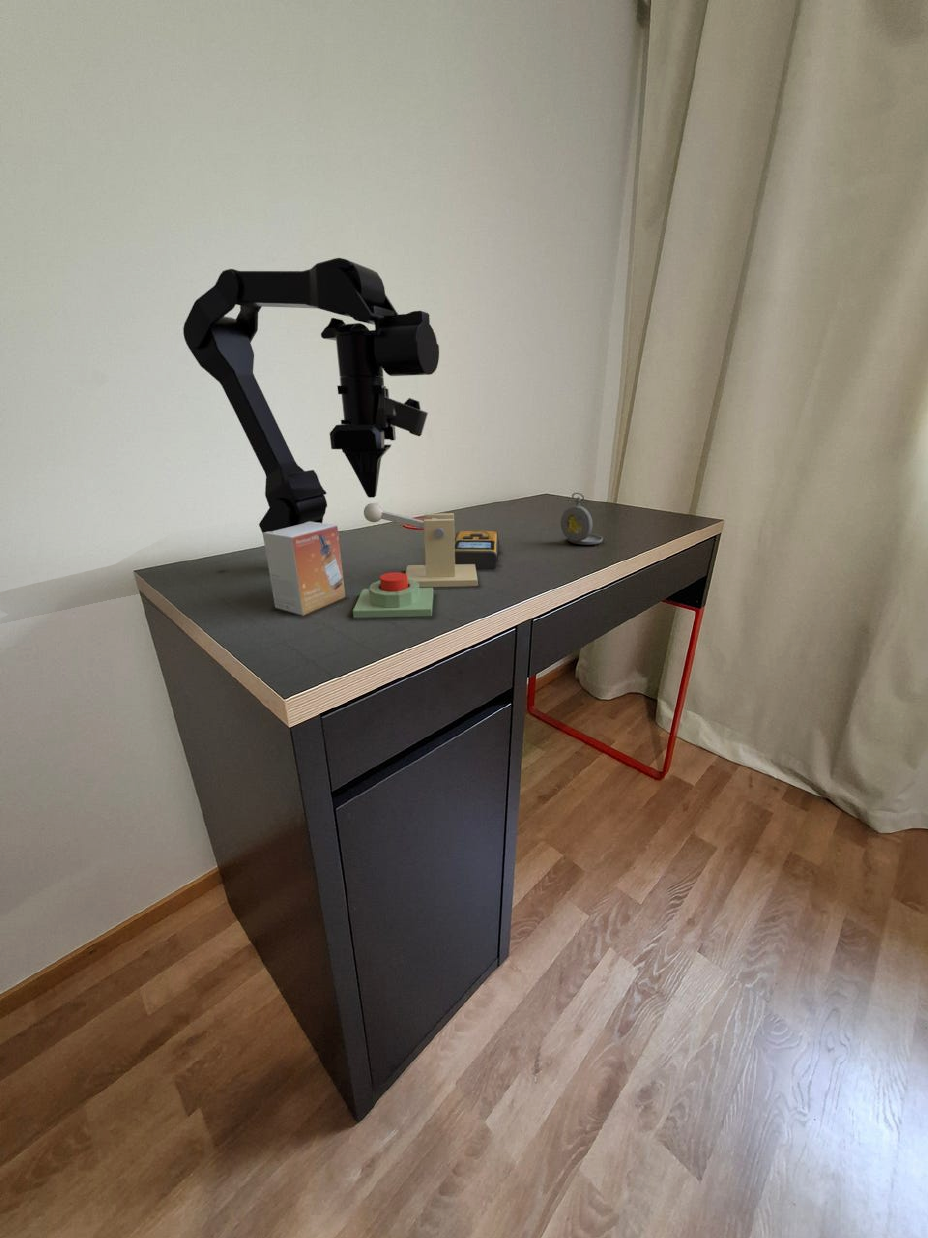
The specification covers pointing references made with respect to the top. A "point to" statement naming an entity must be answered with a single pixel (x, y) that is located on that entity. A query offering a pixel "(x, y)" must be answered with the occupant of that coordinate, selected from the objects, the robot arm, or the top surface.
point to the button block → (394, 602)
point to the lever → (389, 516)
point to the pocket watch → (579, 525)
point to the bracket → (441, 556)
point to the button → (393, 582)
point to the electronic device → (477, 548)
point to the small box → (304, 566)
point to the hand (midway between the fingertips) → (371, 497)
